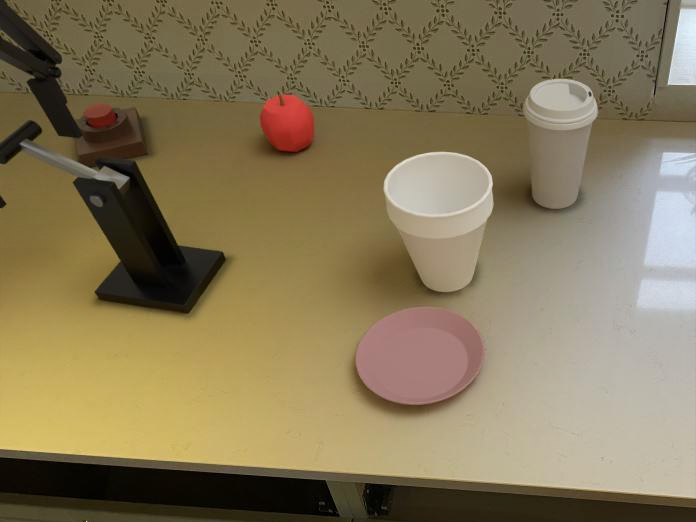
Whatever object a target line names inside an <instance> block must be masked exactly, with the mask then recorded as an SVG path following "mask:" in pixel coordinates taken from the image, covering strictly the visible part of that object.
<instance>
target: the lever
mask: <svg viewBox="0 0 696 522" xmlns="http://www.w3.org/2000/svg"><path fill="white" fill-rule="evenodd" d="M42 134H43V128H42V126H40V125H39V123H37V122H36V121H35V120H33V119H28V120H26V121H25V122H23V123H22V124H21V125H20V126H18V127H17V128H16V129H15V130H14V131H12V132H11V133H10V134H8V136H6V137H5V138H4V139H3V140H1V141H0V165H7V164H8V163H9V162H10V161H11V160H12V159H14V158H15V157H16V156H17V155H18V154H19V153H20V152H22V153H24V154H26V155H28V156H31V157H33V158H36V159H37V160H40V161H42V162H43V163H46V164H49V165H51V166H52V167H54V168H57V169H59V170H61V171H64V172H66V173H68V174H70V175H72V176H75V177H76V178H77V177H81V178H88V179H96V180H104V181H112V182H115V184H116V185H117V187H118V189H119V191H120V193H121V194H122V196H123V198H124V199H125V198H126V197H127V196H128V195H129V194H130V178H129V177H127V176H125V175H123V174H121V173H119V172H116V171H114V170H112V169H110V168H108V167H106V166H104V167H103V168H102V169H101V170H98V171H97V170H95V169H93V168H92V167H87V166H85V165H83V163H80V162H78V161H75V160H73V159H72V158H69V157H67V156H65V155H63V154H61V153H58V152H56V151H54V150H52V149H49V148H47V147H46V146H44V145H42V144H39V143H37V142H35V140H37V138H39V136H41V135H42Z"/></svg>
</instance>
